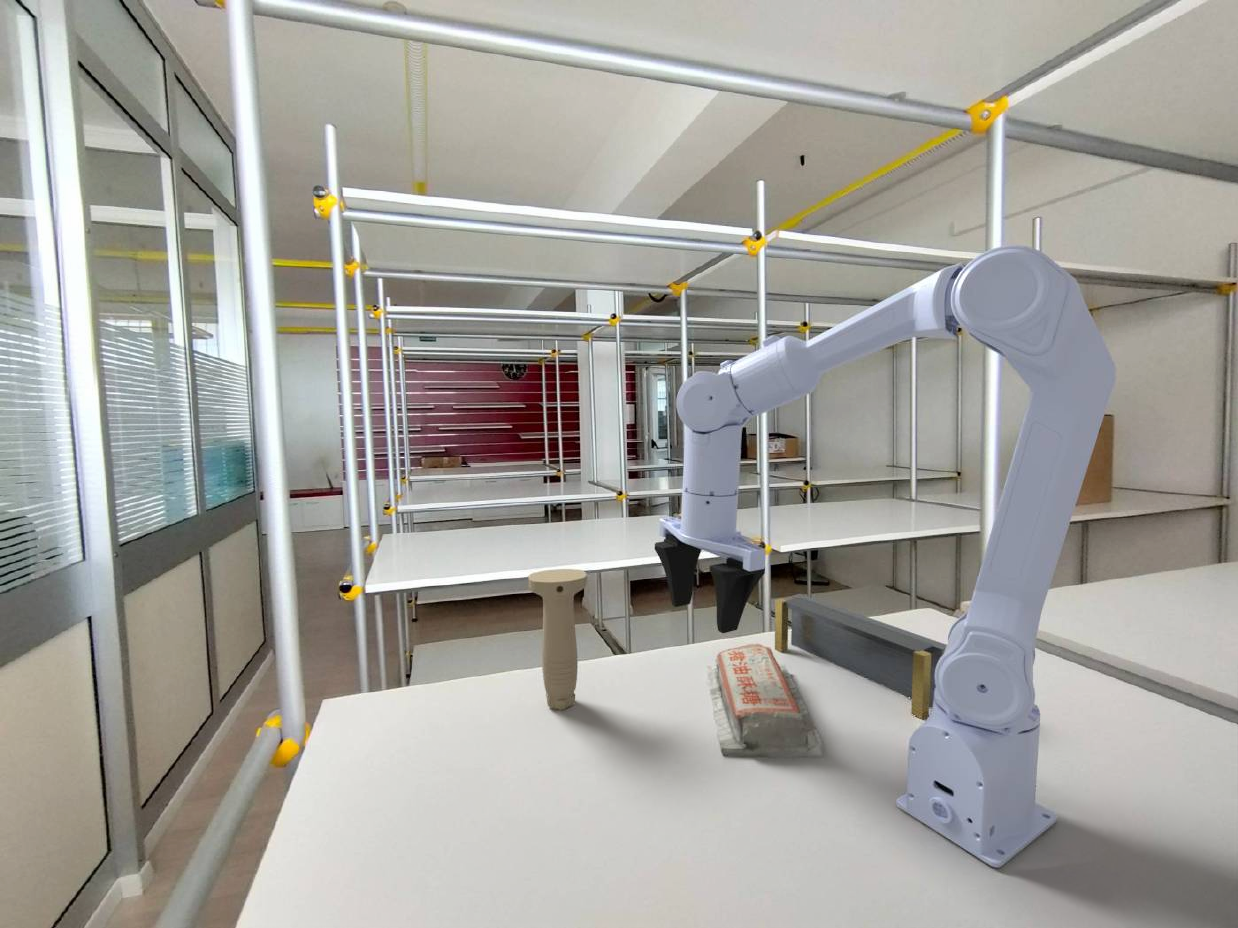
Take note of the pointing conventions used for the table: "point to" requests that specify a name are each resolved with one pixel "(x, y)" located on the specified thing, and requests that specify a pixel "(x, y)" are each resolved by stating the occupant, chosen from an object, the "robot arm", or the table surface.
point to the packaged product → (759, 706)
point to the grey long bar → (862, 647)
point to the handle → (559, 632)
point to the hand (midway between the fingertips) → (703, 616)
